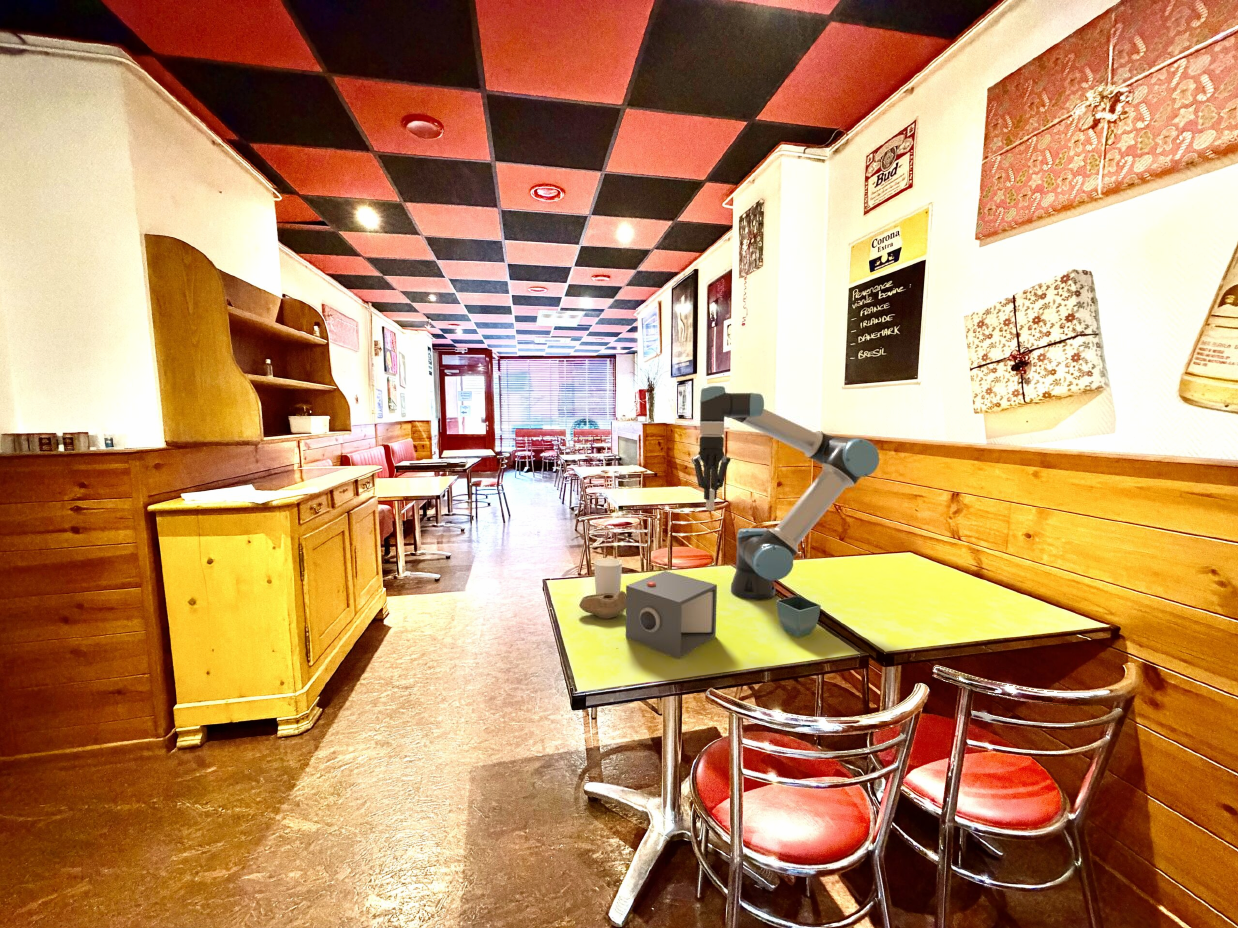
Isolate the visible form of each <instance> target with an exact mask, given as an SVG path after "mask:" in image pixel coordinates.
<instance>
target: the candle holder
mask: <svg viewBox="0 0 1238 928" xmlns="http://www.w3.org/2000/svg"><path fill="white" fill-rule="evenodd" d="M593 567H594V581H595V583H594V584H595V586H594V587H595V594H602V593H614V594H617V595H618V594H619V592H620V591H621V589H622V587H621V586H622V569H623V568H622V567H623V560H621V559H618V558H615V557H603V558H598V559H596V560H594V561H593Z"/></svg>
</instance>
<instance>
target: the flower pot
mask: <svg viewBox="0 0 1238 928" xmlns="http://www.w3.org/2000/svg"><path fill="white" fill-rule="evenodd" d="M821 606H822V605H820V603H816V602H814V601H811V600H809V599H806V598H804V597H801V596H800V595H793V596H790V597H786V598H781V599H777V600H776V610H777V616H778V619H779V623H780V625H781V627H782V629H783V630H784V631H785V632H787V633H788V634H790V635H792V636H795V637H796V638H801V637H804V636H807V635H810V634H811V633H812V632H813V631H814V630H815V628H816V626H817V625H818V623H819V617H820V613H821V612H820V611H821Z"/></svg>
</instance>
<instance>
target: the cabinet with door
mask: <svg viewBox="0 0 1238 928" xmlns="http://www.w3.org/2000/svg"><path fill="white" fill-rule="evenodd" d="M717 590H718V585H717V584H716V583H712V582H709V581H705V580H702V579H697V578H694V577H689V576H685V575H683V574H682V575H681V574H678V573H674V572H671V571H666V570H664V571H661V572H659V573H656V574H654V575H650V576H648V577H646V578H643V579H640V580H637V581H634V582H632V583H629V584H627V585H626V586H625V593H626V608H625V638H626V639H628V640H630V641H633V642H635V643H638V644H640V645H643V646H646V647H648V648H650V649H653V650H656V651H657V652H660V653H662V654H665V655H667V656H669V657H672V658H675V659H676V660H680V659H681V658H683V657H685V656H686V655H688V654H690V653H691V652H692V651H695V650H696V649H698V648H700V647H701V646H702V645H704V644H705V643H707V642H709V641H711V640H712V639H714V638H716V637H717V636H716V635H717V633H716V632H717V599H718V596H717V593H718V591H717ZM710 591H713V613H712V632H681V613H682V605H683V604H685V603H687V602H689V601H691V600H693V599H695V598H697V597H700V596H702V595H704V594H706V593H708V592H710Z"/></svg>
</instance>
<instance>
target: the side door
mask: <svg viewBox="0 0 1238 928" xmlns="http://www.w3.org/2000/svg"><path fill="white" fill-rule="evenodd" d="M712 613H713V591H710V592H708V593H706V594H704V595H702V596H700V597H697V598H695V599H693V600H691V601H689V602H687V603H685V604H683V605H682V613H681V632H712Z"/></svg>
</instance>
